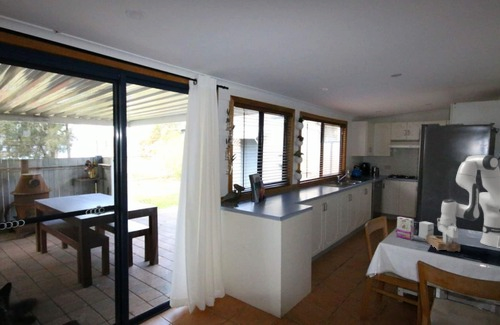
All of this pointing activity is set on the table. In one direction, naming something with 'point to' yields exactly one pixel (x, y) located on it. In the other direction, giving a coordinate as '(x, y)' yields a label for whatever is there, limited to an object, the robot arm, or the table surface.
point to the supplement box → (425, 229)
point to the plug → (446, 238)
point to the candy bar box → (405, 228)
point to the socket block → (442, 243)
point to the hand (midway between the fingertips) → (447, 240)
